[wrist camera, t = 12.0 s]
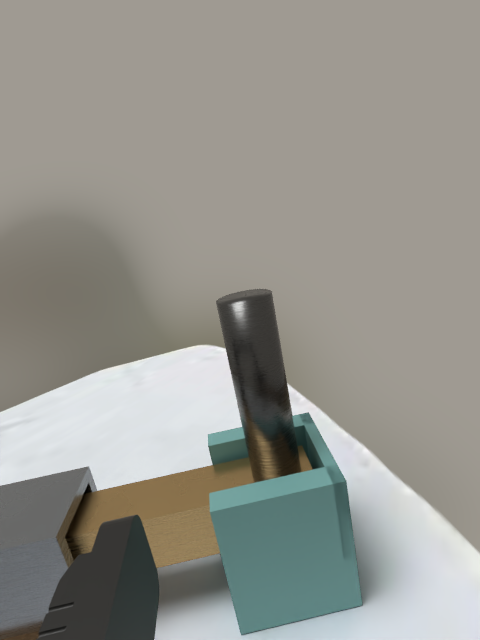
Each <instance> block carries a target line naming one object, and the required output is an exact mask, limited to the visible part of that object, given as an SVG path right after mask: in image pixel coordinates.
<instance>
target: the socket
mask: <svg viewBox="0 0 480 640" xmlns="http://www.w3.org/2000/svg"><path fill="white" fill-rule="evenodd" d="M292 417H293V423H294V429H295V435H296V440H297V446H301V445H302V446H303V449H304V451H305V453H306V455H307V458H308V460H309V462H310V464H311V467H312V469H313V470H309V471H304V472H300V473H296V474H291V475H287V476H282V477H278V478H273V479H269V480H265V481H260V482H256V483H251V484H247V485H243V486H238V487H234V488H229V489H225V490H220V491H216V492H212V493H209V499H210V515H211V519H212V523H213V527H214V531H215V535H216V538H217V542H218V546H219V550H220V554H221V558H222V562H223V566H224V570H225V574H226V578H227V582H228V586H229V589H230V593H231V597H232V601H233V605H234V609H235V613H236V617H237V621H238V625H239V629H240V633H241V635H243V634H247V633H251V632H255V631H259V630H263V629H267V628H271V627H276V626H280V625H284V624H288V623H292V622H296V621H300V620H304V619H308V618H313V617H317V616H321V615H325V614H329V613H333V612H337V611H341V610H345V609H349V608H354V607H358V606H362V599H361V591H360V584H359V576H358V568H357V561H356V553H355V545H354V538H353V530H352V522H351V514H350V507H349V499H348V491H347V484H346V480H345V478H344V476H343V474H342V473H341V471H340V469H339V467H338V465H337V463H336V462H335V460H334V458H333V456H332V454H331V452H330V451H329V449H328V447H327V445H326V443H325V442H324V440H323V438H322V436H321V434H320V432H319V431H318V429H317V427H316V425H315V423H314V422H313V420H312V418H311V416H310V414H309V412H308V413H304V414H299V415H295V416H292ZM208 447H209V451H210V455H211V459H212V463H213V465H216V464H220V463H225V462H229V461H234V460H238V459H243V458H247V457H249V456H248V451H247V447H246V442H245V437H244V432H243V427H240V428H236V429H231V430H226V431H222V432H217V433H213V434H208Z"/></svg>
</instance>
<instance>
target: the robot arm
mask: <svg viewBox="0 0 480 640" xmlns="http://www.w3.org/2000/svg"><path fill="white" fill-rule="evenodd" d="M158 601H159V582H158V574H157V568H156V565H155V562H154V558H153V555H152V552H151V549H150V546H149V543H148V540H147V536H146V533H145V530H144V527H143V524H142V521H141V519H140V517H139V516H138V515H132V516H128V517H124V518H119V519H115V520H111V521H106V522H103V523H102V524H101V526H100V528H99V530H98V533H97V536H96V539H95V542H94V545H93V548H92V551H91V552H89V553H85V554H80V555H78V556H77V558H76V559H75V560H74V562H73V563H72V564H71V565H70V567H69V568H68V569H67V571H66V572H65V573H64V575H63V576H62V577H61V579H60V580H59V583H58V585H57V588H56V590H55V593H54V595H53V598H52V600H51V603H50V605H49V608H48V609H49V611H48V613H47V614H46V615H45V618H44V620H43V623H42V625H41V628H40V630H39V637H38V639H36V640H154V635H155V627H156V618H157V610H158Z"/></svg>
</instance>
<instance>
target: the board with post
mask: <svg viewBox="0 0 480 640" xmlns="http://www.w3.org/2000/svg"><path fill="white" fill-rule="evenodd" d="M216 304H217V308H218V313H219V318H220V323H221V328H222V332H223V337H224V342H225V347H226V351H227V356H228V361H229V366H230V370H231V375H232V380H233V385H234V389H235V394H236V399H237V404H238V408H239V413H240V418H241V423H242V427H243V432H244V437H245V442H246V447H247V451H248V456H249V457H247V458H243V459H238V460H234V461H229V462H225V463H220V464H216V465H212V466H207V467H203V468H198V469H194V470H189V471H185V472H180V473H176V474H171V475H167V476H162V477H158V478H153V479H149V480H144V481H140V482H135V483H131V484H126V485H122V486H117V487H113V488H108V489H104V490H100V491H95V492H91V493H86V494H83V496H82V499H81V501H80V503H79V506H78V508H77V510H76V512H75V515H74V517H73V519H72V521H71V524H70V526H69V528H68V531H67V533H66V535H65V539H66V541H67V544H68V546H69V549H70V552H71V554H72V557H73V559H74V560H75V559H76V558H77V556H78V555H80V554H85V553H89V552H91V551H92V548H93V545H94V542H95V539H96V536H97V533H98V530H99V528H100V526H101V524H102V523H103V522H106V521H111V520H115V519H119V518H124V517H128V516H132V515H138V516H139V517H140V519H141V521H142V524H143V527H144V530H145V533H146V536H147V540H148V543H149V546H150V549H151V552H152V555H153V558H154V562H155V565H156V568H159V567H163V566H168V565H172V564H176V563H180V562H185V561H189V560H193V559H198V558H202V557H206V556H210V555H215V554H219V553H220V550H219V546H218V542H217V538H216V535H215V531H214V527H213V523H212V519H211V515H210V499H209V493H212V492H216V491H220V490H225V489H229V488H234V487H238V486H243V485H247V484H251V483H256V482H260V481H265V480H269V479H273V478H278V477H282V476H287V475H291V474H296V473H300V472H304V471H309V470H313V469H312V467H311V464H310V462H309V460H308V458H307V455H306V453H305V451H304V449H303V446H302V445H301V446H297V440H296V435H295V429H294V423H293V417H292V411H291V405H290V399H289V393H288V387H287V381H286V375H285V369H284V363H283V357H282V351H281V345H280V339H279V333H278V327H277V321H276V315H275V309H274V303H273V297H272V291H270V290H267V289H255V290H247V291H241V292H237V293H233V294H229V295H226V296H224V297H222V298H220V299H218V300H217V301H216Z"/></svg>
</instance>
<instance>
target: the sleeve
mask: <svg viewBox="0 0 480 640" xmlns="http://www.w3.org/2000/svg"><path fill="white" fill-rule="evenodd" d="M95 491H97V489H96V486H95V483H94V480H93V477H92V474H91V471H90V468H89V467H84V468H80V469H75V470H71V471H66V472H61V473H57V474H52V475H48V476H43V477H39V478H34V479H30V480H25V481H21V482H16V483H11V484H7V485H2V486H0V640H36V639H38V637H39V630H40V628H41V625H42V623H43V620H44V618H45V615H46V614H47V613H48V611H49V609H48V608H49V605H50V603H51V600H52V598H53V595H54V593H55V590H56V588H57V585H58V583H59V580H60V579H61V577H62V576H63V575H64V573H65V572H66V571H67V569H68V568H69V567H70V565H71V564H72V563H73V562H74V559H73V557H72V554H71V552H70V549H69V546H68V544H67V541H66V539H65V535H66V533H67V531H68V528H69V526H70V524H71V521H72V519H73V517H74V515H75V512H76V510H77V508H78V506H79V503H80V501H81V499H82V496H83V494H86V493H91V492H95Z"/></svg>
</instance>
